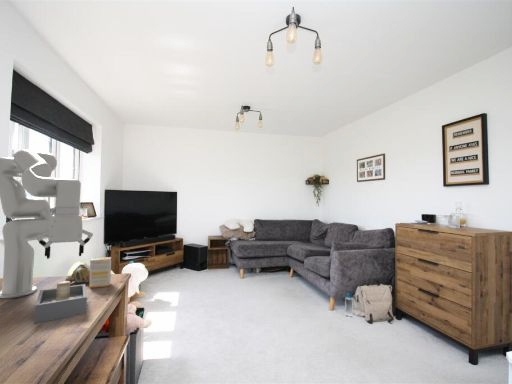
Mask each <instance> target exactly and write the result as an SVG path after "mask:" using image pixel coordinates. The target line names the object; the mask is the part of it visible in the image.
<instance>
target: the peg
mask: <svg viewBox="0 0 512 384" xmlns="http://www.w3.org/2000/svg"><path fill="white" fill-rule="evenodd" d="M70 286H71V283H70V281H60V282H58V283H56V288H57V294H56V301H60V300H66V299H69V297H70Z"/></svg>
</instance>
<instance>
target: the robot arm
mask: <svg viewBox="0 0 512 384" xmlns="http://www.w3.org/2000/svg"><path fill="white" fill-rule="evenodd" d="M57 165H58V161H57V158H56V156H54V154H52V153H50V152H43V151H38V150H31V149H22V150H18V151H16V152H15V153H14V154H13V156H12V157H10V156H8V157H4V156H2V157H0V204H1V208H2V212H3V215H4V216H5V217H6V218H8V219H13V220H10V221H7V222H5V224H4V225H3V226H2V236H3V237H2V238H3V243H4V244H3V246H4V253H3V256H4V257H3V272H2V287H1V288H2V289H1V290H0V299H15V298H21V297H25V296H28V295H31V294H33V293H35V292H36V291H38V286H35V285H33V282H34V279H33V278H34V264H35V249H34V248H33V246H32V245H31V244H30V243H29V242H30V241H37V242H38V243H39V245H41V246H42V247H44V257H46V259H47V260H49V259H50V258H51V245H52V244H55V243H58V244H59V243H75V242H78V244H79V248H78V257H82V254H84V250H85V245H86V244H87V243H88V242H89V241H90V240H91V239H92V238H93V236H94V234H93V233H92V232H90V231H88V230H86V229H83V217H82V215H81V214H80V205H81V190H82V189H81V187H82V183H81V181H80V180H78V179H72V178H57V177H50V176H52V172H54V170H56V168H57ZM15 178H21V183H20V182H19V181H18V180H17V179H15ZM26 192H27V193H28V194H29V195H31V196H28V195H27V193H26ZM45 198H55V204H54V205H55V206H54V207H52V208H51V207H50V203H49V202H48V200H47V199H45ZM83 234H84V235H86V236H87V237H86V238H85V239H84V240H83ZM46 239H47V241H45V240H46Z"/></svg>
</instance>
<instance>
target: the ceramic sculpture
mask: <svg viewBox="0 0 512 384" xmlns="http://www.w3.org/2000/svg"><path fill="white" fill-rule="evenodd" d="M65 281H70V284H72V283H77V284H79V283H80V282H81V283H90V265H89V264H87V263H84V264H80V265H78V266H77V268H75V269H74V270H73V271H72V274H71V275H69V276H67V277H66V278H65ZM81 283H80V284H81Z"/></svg>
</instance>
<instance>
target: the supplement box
mask: <svg viewBox="0 0 512 384" xmlns="http://www.w3.org/2000/svg"><path fill="white" fill-rule="evenodd" d="M89 263H90V265H89V267H90V281H89V287H88V288H90V289H91V288H92V289H93V288H95V289H96V288H104V287H105V288H106V287H110V285H111V281H112V280H111V278H112V256H109V257H107V256H106V257H92V258H91V259H90V262H89Z"/></svg>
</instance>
